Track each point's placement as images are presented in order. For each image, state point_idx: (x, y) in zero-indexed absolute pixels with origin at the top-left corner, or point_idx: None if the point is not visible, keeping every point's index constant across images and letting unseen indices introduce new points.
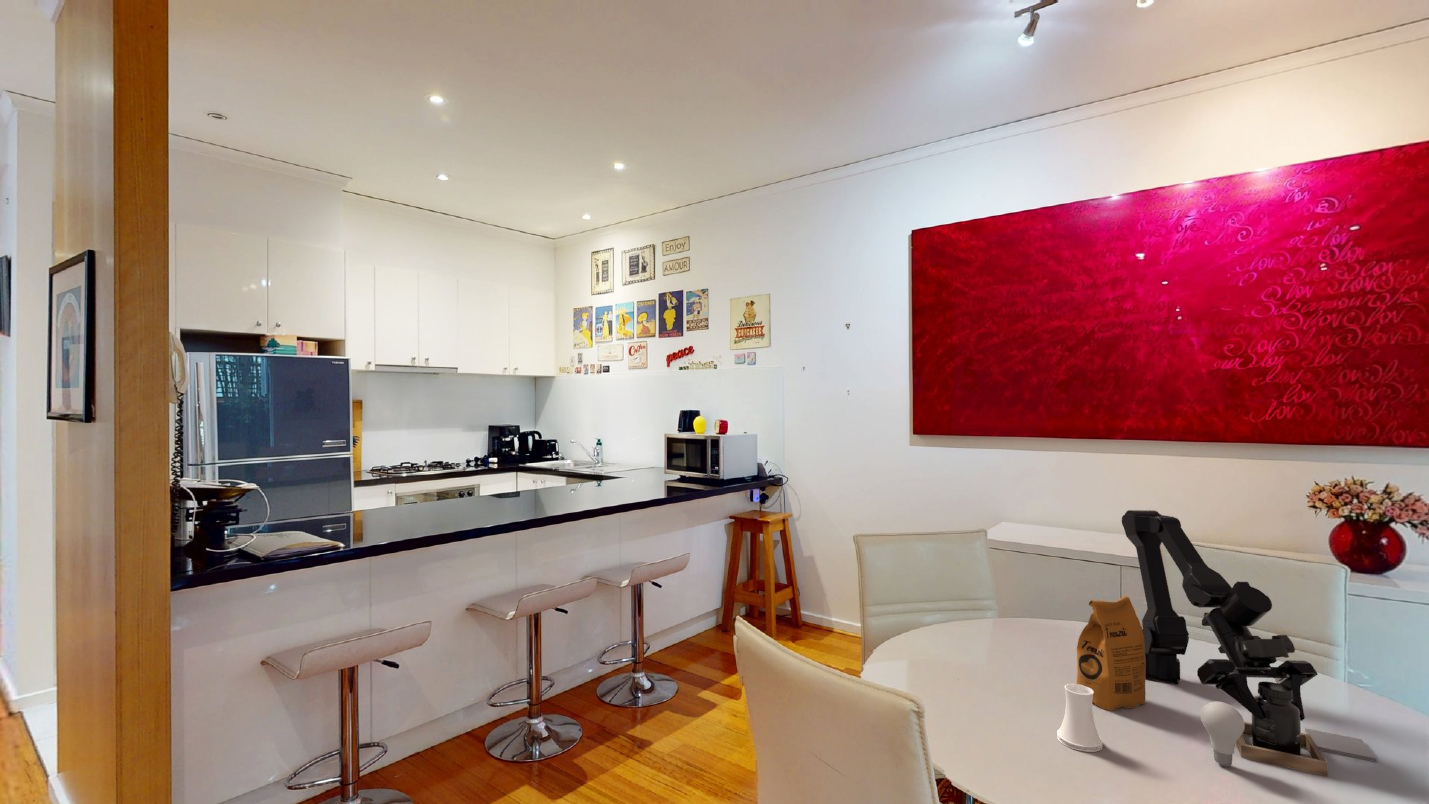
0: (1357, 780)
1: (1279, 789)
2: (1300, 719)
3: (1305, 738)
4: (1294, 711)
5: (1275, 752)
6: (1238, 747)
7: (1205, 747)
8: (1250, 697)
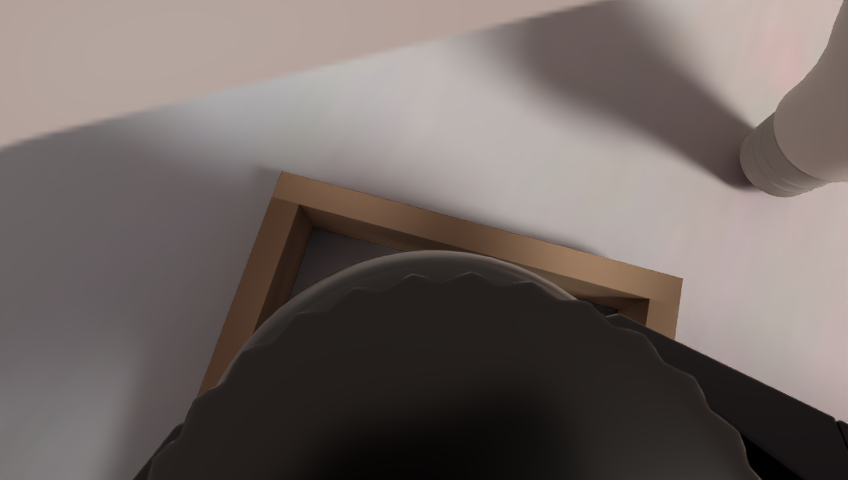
0: (170, 198)
1: (584, 24)
2: None
3: None
4: (322, 282)
5: (513, 235)
6: None
7: (802, 364)
8: (813, 436)
